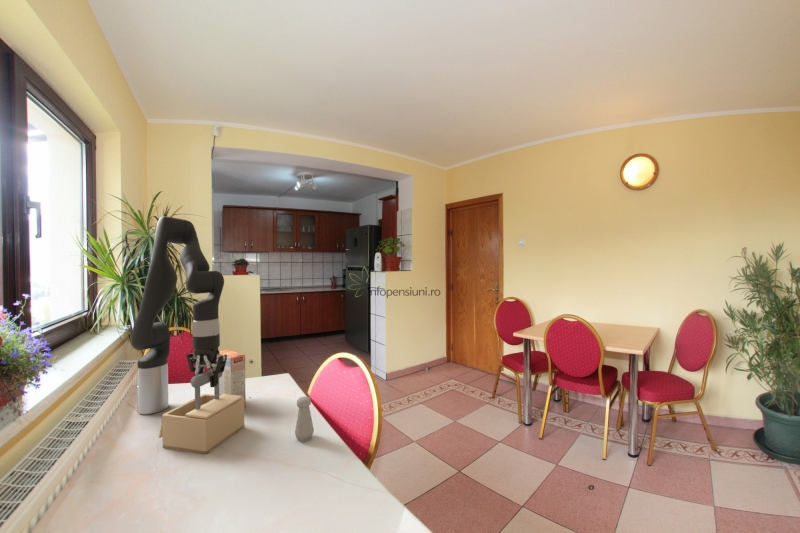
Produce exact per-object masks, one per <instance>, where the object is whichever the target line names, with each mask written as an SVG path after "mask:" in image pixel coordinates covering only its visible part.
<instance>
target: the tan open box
mask: <svg viewBox="0 0 800 533" xmlns="http://www.w3.org/2000/svg"><path fill="white" fill-rule="evenodd" d="M213 399H215V395H214V394H210V393H209V394H208V393H207V394H206V393H203V394H200V406H201V405H203V404H205V403H207V402H209V401H211V400H213ZM194 409H195V398H193V399H190V400H189V401H187V402H185V403H183V404H181V405H178V406H177V407H175V408H173V409H170V410H168V411H167V412H164V413H163V414H162V415H161V424H160V428H159V432H158V439H161V438H162V448H164V449H171V450H176V451H181V452H182V451H183V452H188V453H189V452H190V453H194V454H195V453H196V454H203V455H207V454H209V453H211V451H213V450H214V449H215V448H217V447H219V446H220V445H221V444H223V443H224V442H225V441H226V440H228V439H229V438H230V439H231V437H233V436H234V435H235V434H237V433H238V432H239V431H241V430H242V429H245V408H244V398H241V399H240V400H238V401H236V402H234V403H233V404H231V405H229V406H228V407H226V408H224V409H223V410H221V411H219V412H217V413H216V414H214V415H212V416H211V417H209V418H207V419H204V418H196V417H188V416H185V414H186V413H188V412H190V411H192V410H194Z"/></svg>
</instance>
